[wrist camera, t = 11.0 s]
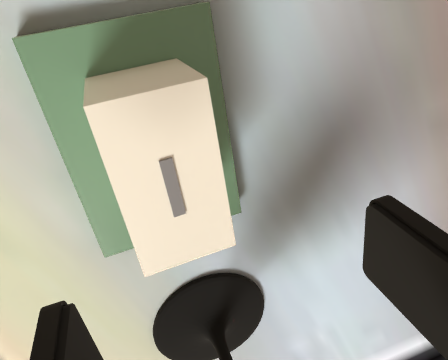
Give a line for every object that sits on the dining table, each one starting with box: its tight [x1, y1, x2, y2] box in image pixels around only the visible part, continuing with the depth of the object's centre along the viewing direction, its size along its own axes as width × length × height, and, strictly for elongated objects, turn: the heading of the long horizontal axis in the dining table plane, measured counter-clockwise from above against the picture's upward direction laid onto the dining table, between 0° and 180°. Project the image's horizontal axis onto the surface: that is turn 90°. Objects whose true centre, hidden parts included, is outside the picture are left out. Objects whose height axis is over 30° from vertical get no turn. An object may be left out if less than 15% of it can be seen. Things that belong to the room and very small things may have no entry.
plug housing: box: [83, 58, 236, 277], centre depth 18 cm, size 5×9×6 cm, turn 8°
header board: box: [12, 2, 241, 258], centre depth 20 cm, size 10×14×5 cm
